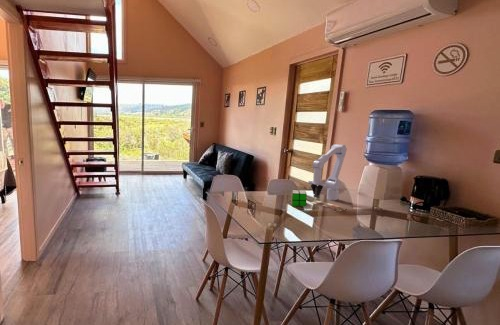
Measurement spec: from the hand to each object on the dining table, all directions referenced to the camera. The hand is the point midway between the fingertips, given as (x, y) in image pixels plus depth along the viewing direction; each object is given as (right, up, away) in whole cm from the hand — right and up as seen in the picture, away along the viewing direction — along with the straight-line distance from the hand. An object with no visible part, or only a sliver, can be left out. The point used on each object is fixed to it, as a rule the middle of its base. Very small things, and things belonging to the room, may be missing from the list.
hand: (316, 194), depth 223 cm
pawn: (0, -2, 0) cm, 2 cm away
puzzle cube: (-14, -7, -5) cm, 17 cm away
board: (+7, -8, -6) cm, 12 cm away
